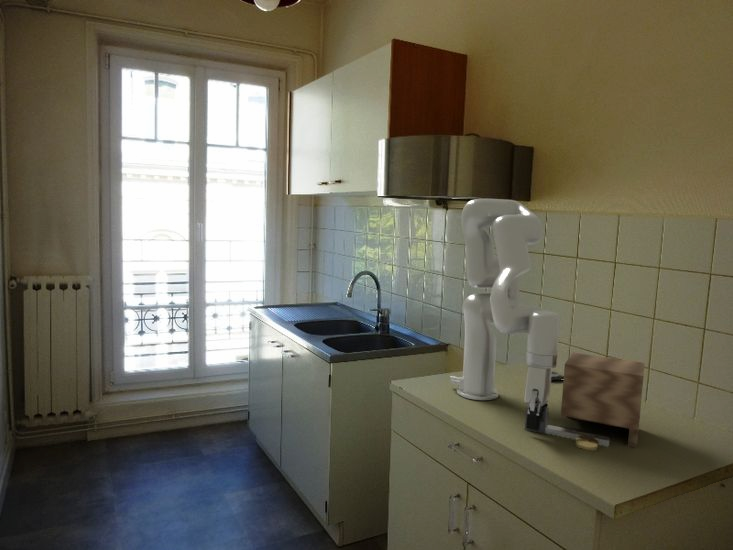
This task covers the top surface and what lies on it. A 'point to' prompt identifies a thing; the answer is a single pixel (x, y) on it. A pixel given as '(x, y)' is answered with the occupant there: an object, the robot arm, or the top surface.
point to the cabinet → (604, 392)
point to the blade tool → (563, 429)
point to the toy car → (556, 376)
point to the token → (586, 442)
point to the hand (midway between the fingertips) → (536, 423)
